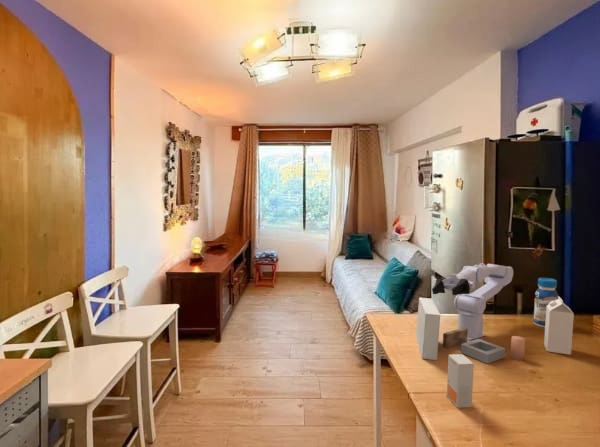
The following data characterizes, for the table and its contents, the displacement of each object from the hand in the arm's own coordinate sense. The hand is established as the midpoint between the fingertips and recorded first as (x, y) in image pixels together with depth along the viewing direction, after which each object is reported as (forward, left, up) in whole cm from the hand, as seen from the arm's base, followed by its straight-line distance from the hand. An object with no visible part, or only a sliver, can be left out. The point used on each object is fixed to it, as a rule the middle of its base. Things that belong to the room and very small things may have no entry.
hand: (443, 291), depth 135 cm
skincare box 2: (+25, +26, -21) cm, 41 cm away
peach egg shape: (-17, +18, -21) cm, 32 cm away
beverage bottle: (-60, +6, -21) cm, 64 cm away
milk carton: (-36, +22, -21) cm, 47 cm away
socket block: (-8, +11, -21) cm, 25 cm away
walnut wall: (-8, 0, -21) cm, 22 cm away
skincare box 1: (+4, -3, -21) cm, 22 cm away
